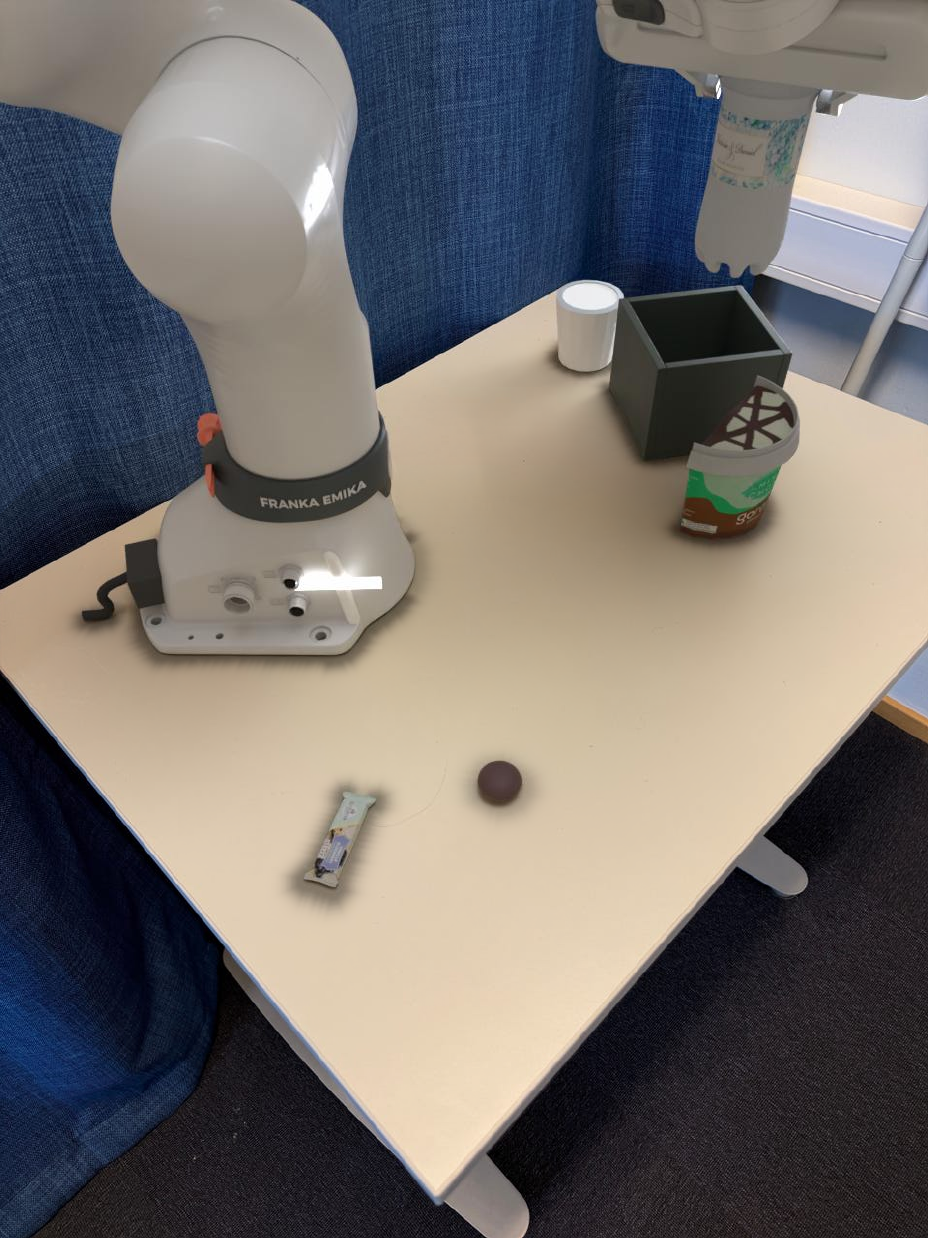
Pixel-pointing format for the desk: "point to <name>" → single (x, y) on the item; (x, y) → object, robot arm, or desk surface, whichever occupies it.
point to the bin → (689, 364)
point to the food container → (740, 464)
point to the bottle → (752, 173)
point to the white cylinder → (586, 324)
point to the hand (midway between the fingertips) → (769, 95)
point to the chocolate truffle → (499, 780)
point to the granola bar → (340, 839)
